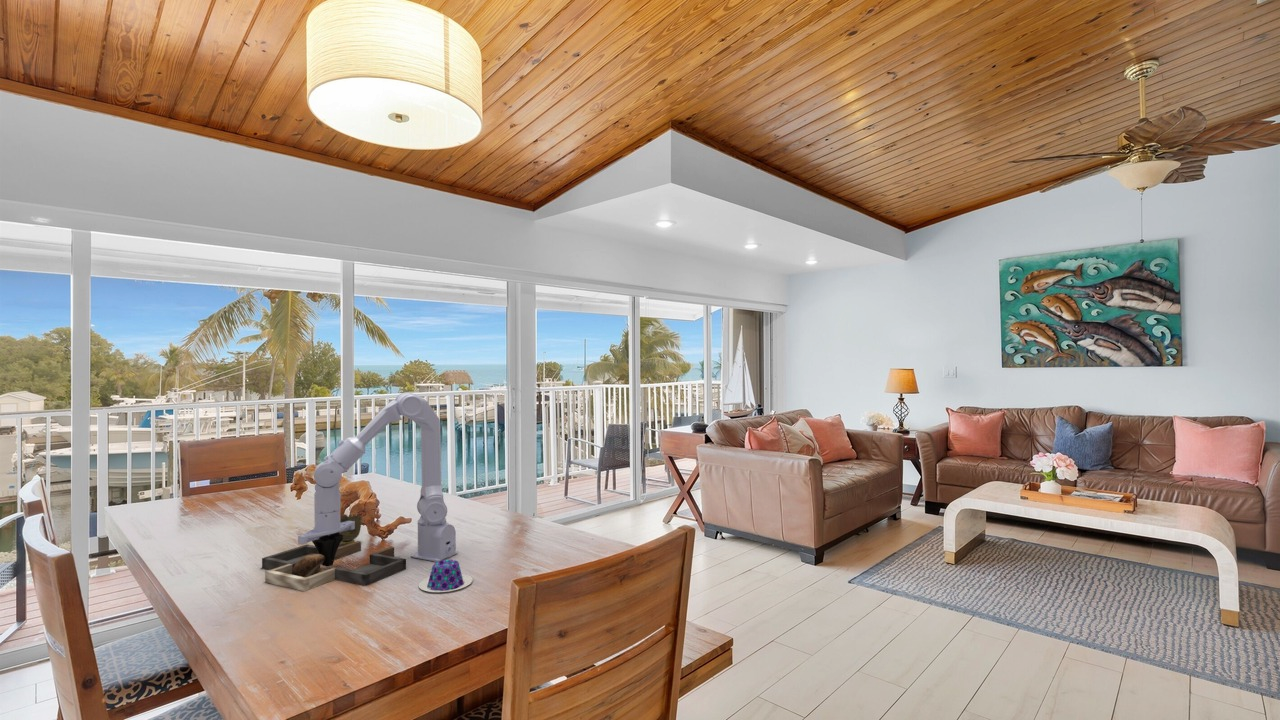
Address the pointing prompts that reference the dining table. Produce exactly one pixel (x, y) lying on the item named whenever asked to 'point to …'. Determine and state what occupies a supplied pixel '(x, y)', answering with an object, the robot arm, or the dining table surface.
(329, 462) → the robot arm
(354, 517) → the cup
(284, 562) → the grey brown flat frame
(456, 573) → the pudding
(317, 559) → the mushroom
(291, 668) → the dining table surface
